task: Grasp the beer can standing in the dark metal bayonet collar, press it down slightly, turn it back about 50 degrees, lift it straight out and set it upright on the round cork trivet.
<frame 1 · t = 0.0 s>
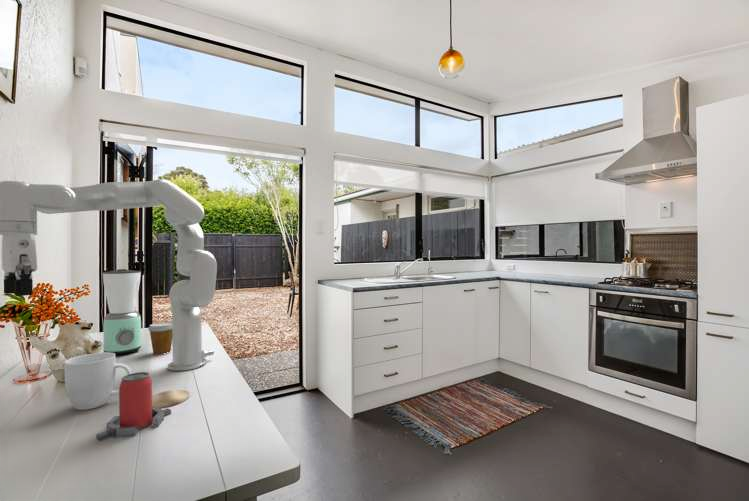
hand: (18, 294, 93), 31 cm above the table, fingers open, 9 cm apart
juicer: (122, 352, 150), on the table
disposable coffee cup: (162, 353, 148), on the table
mug: (96, 405, 98), on the table
beer can: (136, 426, 86), on the table
trivet: (167, 399, 101), on the table
collar: (136, 425, 86), on the table
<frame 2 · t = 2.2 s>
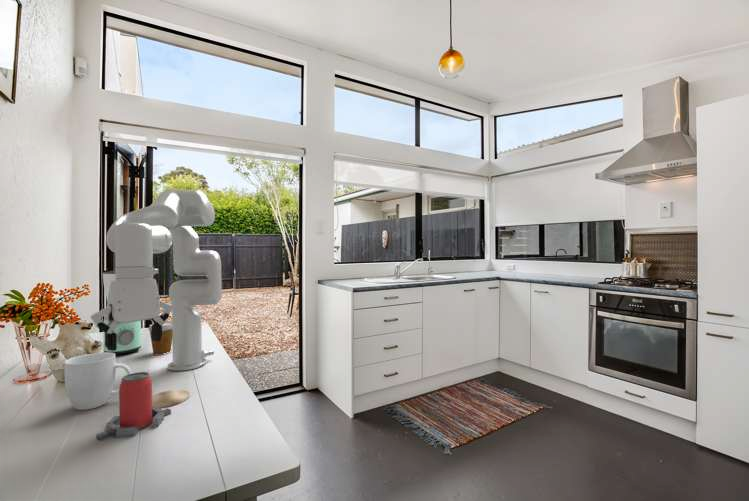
hand: (135, 345, 86), 19 cm above the table, fingers open, 9 cm apart
nothing on the table moved.
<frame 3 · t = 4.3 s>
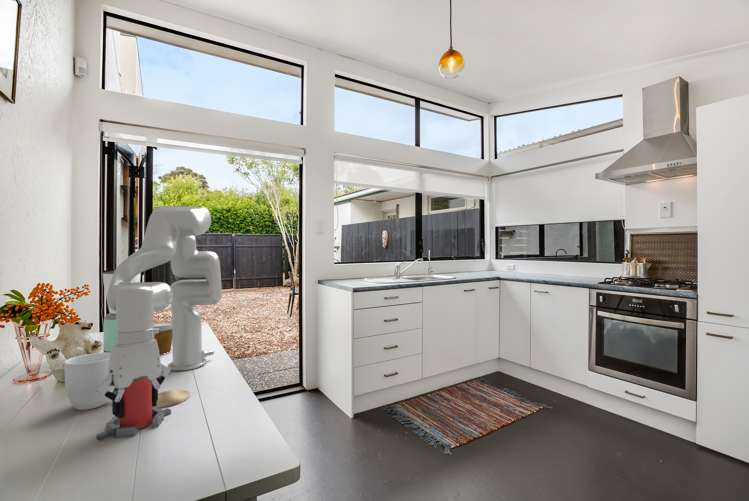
hand: (136, 410, 86), 4 cm above the table, fingers closed on beer can, 6 cm apart
beer can: (136, 426, 86), on the table, touching gripper
everything else where it was.
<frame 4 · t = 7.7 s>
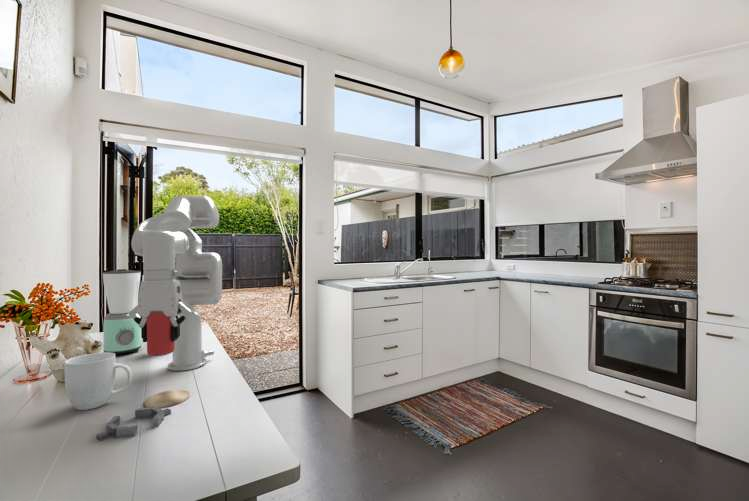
hand: (161, 339, 98), 18 cm above the table, fingers closed on beer can, 6 cm apart
beer can: (161, 353, 98), point 14 cm above the table, touching gripper
everything else where it was.
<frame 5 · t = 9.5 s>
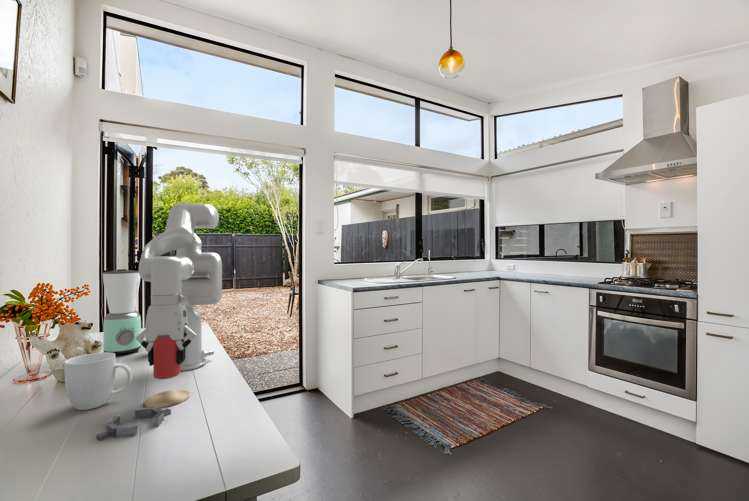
hand: (167, 363, 101), 10 cm above the table, fingers closed on beer can, 6 cm apart
beer can: (167, 376, 101), point 7 cm above the table, touching gripper
everything else where it was.
when the fingers open (6 cm above the table, at t = 10.9 s): beer can drops 1 cm, resting on trivet.
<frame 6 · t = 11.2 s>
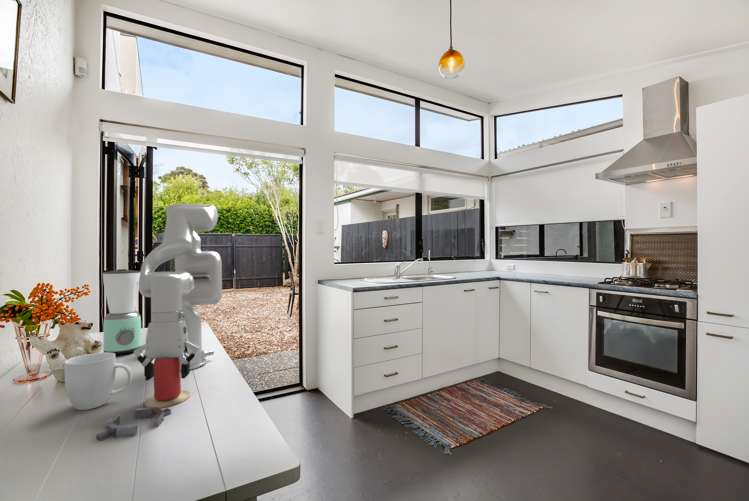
hand: (167, 377, 101), 6 cm above the table, fingers open, 9 cm apart
beer can: (167, 397, 101), resting on trivet
everything else where it was.
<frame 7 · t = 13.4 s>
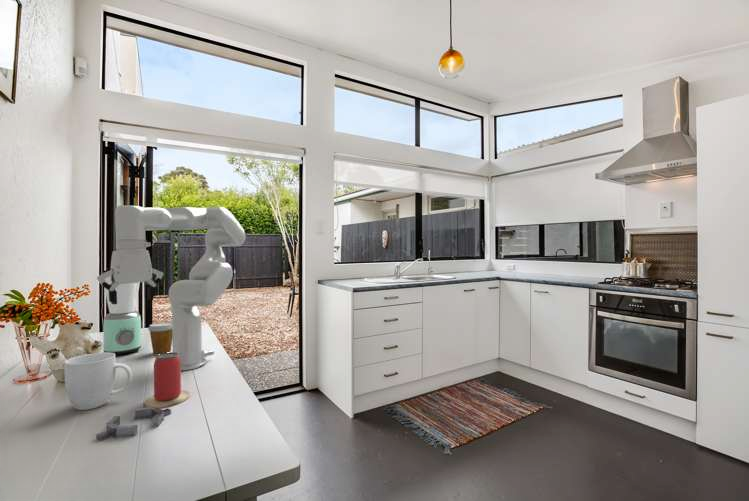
hand: (132, 301, 109), 27 cm above the table, fingers open, 9 cm apart
nothing on the table moved.
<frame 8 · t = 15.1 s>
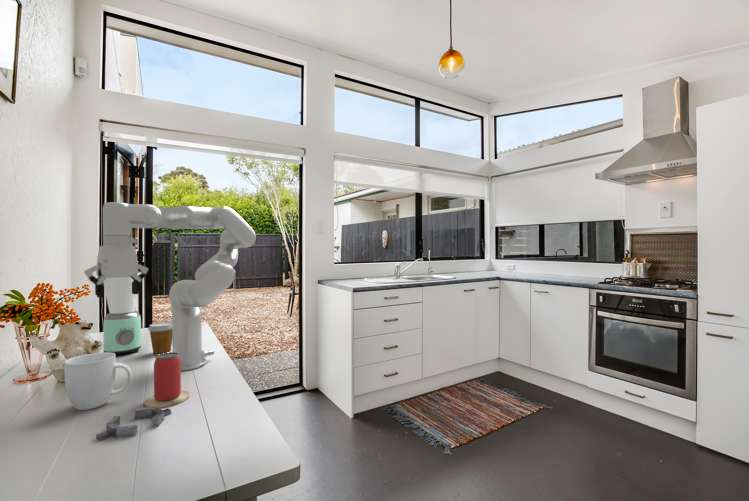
hand: (118, 295, 113), 28 cm above the table, fingers open, 9 cm apart
nothing on the table moved.
at the end: beer can inside the target area on the trivet (0.2 cm from its centre), point 0.4 cm above the trivet's base; beer can tilted 0°; the gripper is holding nothing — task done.
